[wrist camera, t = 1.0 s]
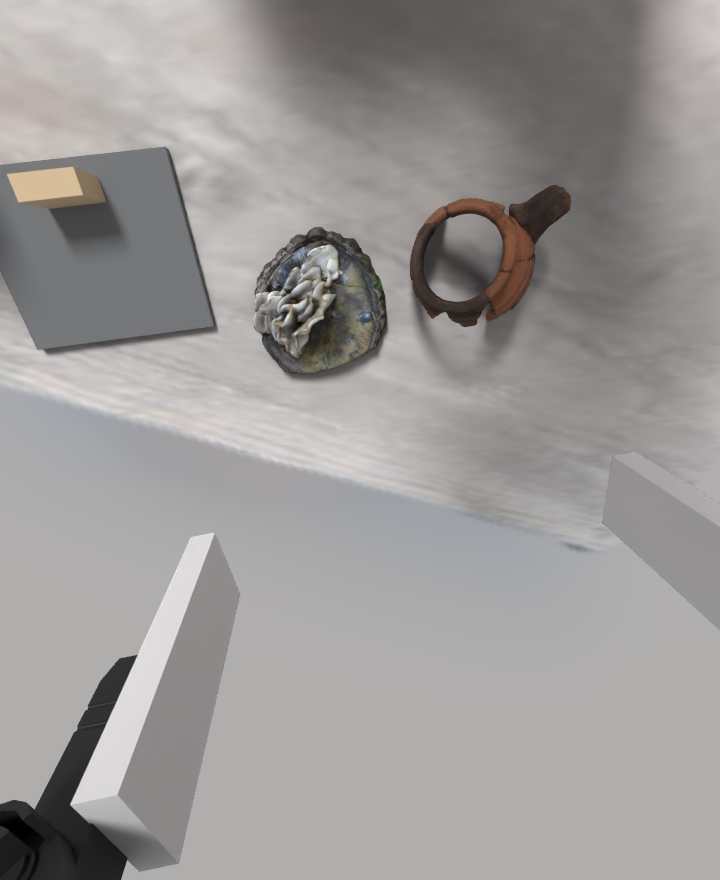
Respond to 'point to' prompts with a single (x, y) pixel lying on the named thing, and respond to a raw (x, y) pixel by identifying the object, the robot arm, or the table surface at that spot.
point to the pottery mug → (517, 256)
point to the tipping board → (99, 248)
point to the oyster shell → (319, 303)
